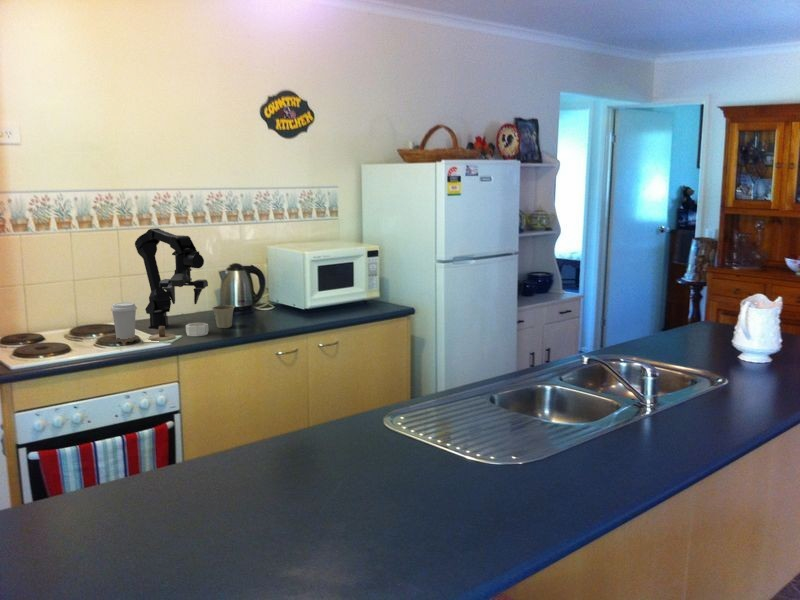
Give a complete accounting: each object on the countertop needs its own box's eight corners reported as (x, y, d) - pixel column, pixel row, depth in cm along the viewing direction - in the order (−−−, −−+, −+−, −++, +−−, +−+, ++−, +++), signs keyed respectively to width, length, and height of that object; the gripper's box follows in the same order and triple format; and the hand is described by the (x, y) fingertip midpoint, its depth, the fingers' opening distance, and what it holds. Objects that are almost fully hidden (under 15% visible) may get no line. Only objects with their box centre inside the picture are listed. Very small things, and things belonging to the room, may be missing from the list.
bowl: (183, 336, 298) (183, 326, 298) (191, 331, 307) (190, 322, 306) (203, 336, 298) (203, 327, 297) (210, 332, 306) (210, 322, 305)
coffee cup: (107, 342, 286) (105, 304, 284) (126, 337, 295) (124, 301, 292) (124, 345, 282) (122, 306, 280) (144, 340, 290) (141, 303, 288)
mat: (141, 342, 287) (141, 340, 287) (153, 336, 298) (153, 335, 297) (171, 343, 286) (171, 341, 286) (182, 337, 297) (182, 335, 296)
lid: (144, 340, 287) (144, 328, 286) (155, 335, 297) (154, 323, 296) (169, 341, 286) (168, 329, 285) (179, 335, 296) (178, 324, 295)
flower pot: (222, 330, 311) (221, 310, 309) (208, 327, 316) (207, 307, 315) (239, 326, 318) (239, 306, 317) (225, 323, 324) (224, 304, 322)
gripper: (152, 268, 294) (154, 307, 296) (197, 269, 292) (199, 307, 295) (164, 265, 305) (165, 302, 307) (207, 266, 303) (209, 303, 306)
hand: (184, 304), depth 304 cm, fingers open, 9 cm apart
